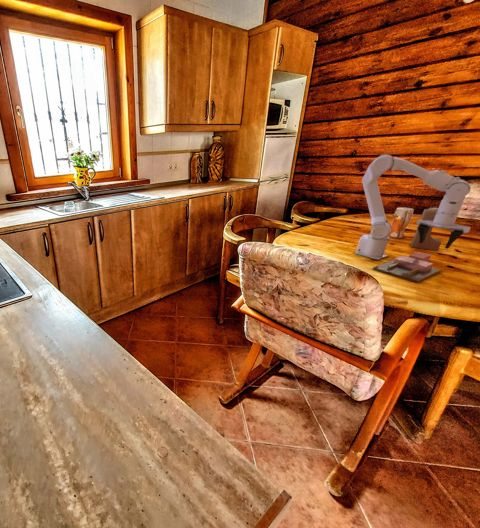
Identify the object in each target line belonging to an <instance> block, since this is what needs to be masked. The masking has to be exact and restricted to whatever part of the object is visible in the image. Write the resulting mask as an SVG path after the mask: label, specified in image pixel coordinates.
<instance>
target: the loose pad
mask: <svg viewBox="0 0 480 528" xmlns="http://www.w3.org/2000/svg"><path fill="white" fill-rule="evenodd" d="M408 257H410V258H414V259H418V260H422V261H426V262H429V261H430V260H431V257H432V254H429V253H426V252H420V251H417V252H414V253H411V254H409V256H408Z"/></svg>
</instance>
